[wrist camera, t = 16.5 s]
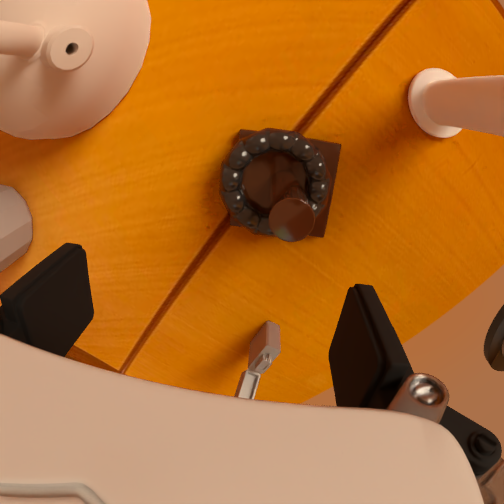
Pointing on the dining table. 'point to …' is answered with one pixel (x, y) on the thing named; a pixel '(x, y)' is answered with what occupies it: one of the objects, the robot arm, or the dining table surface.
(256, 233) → the studded rubber donut
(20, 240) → the jar
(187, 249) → the dining table surface
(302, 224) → the square plate with peg
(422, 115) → the candle
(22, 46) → the kettle
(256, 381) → the lighter
